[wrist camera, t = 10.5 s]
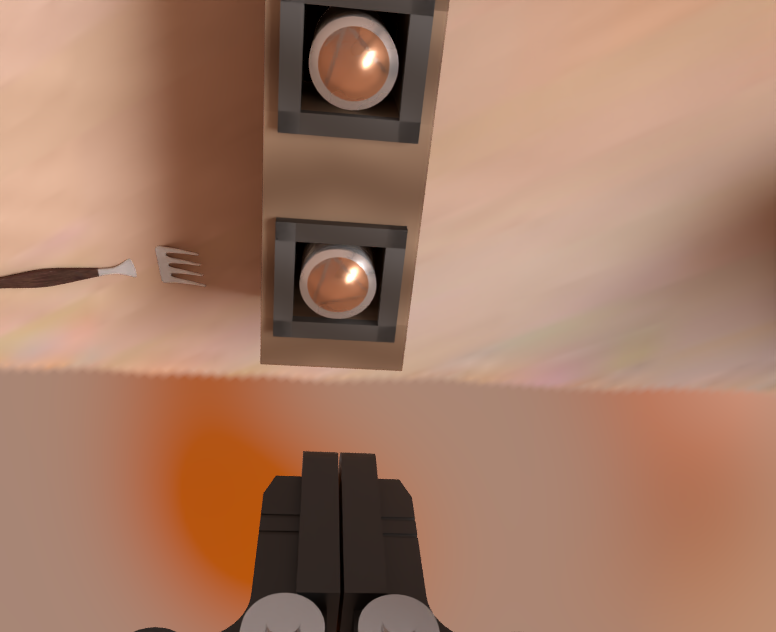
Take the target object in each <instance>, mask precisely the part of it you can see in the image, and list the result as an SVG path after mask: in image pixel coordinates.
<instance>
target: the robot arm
mask: <svg viewBox="0 0 776 632" xmlns="http://www.w3.org/2000/svg"><path fill="white" fill-rule="evenodd" d="M135 632H175V631H172V630H170V629H166V628H158V627H153V628H145V629H141V630H138V631H135ZM222 632H452V631H451V630H449V629H448V628H447V627H445V626H444V625H443V624H442V623H440V622H439V620H438V619H437V618H436V617H435V616H434V614H433V613H432V611H431V609H430V607H429V605H428V602H427V597H426V591H425V585H424V578H423V570H422V564H421V557H420V550H419V544H418V538H417V530H416V523H415V517H414V510H413V503H412V497H411V496H410V494H409V493H408V491H407V490H406V489H405V487H404V486H403V484H402V483H401V481H400V480H395V479H378V477H377V467H376V456H375V454H366V453H340V459H339V469H338V453H335V452H308V451H306V452H305V451H303V465H302V477H300V476H276V477H275V478H274V479H273V481H272V482H271V484H270V485H269V486H268V488H267V489H266V491H265V492H264V494H263V503H262V510H261V520H260V527H259V536H258V544H257V552H256V560H255V568H254V577H253V585H252V593H251V599H250V602H249V605H248V607H247V609H246V611H245V612H244V614H243V615H242V616H241V617H240V618H239V620H237V621H236V622H235V623H234V624H233V625H232V626H230V627H229V628H227V629H226V630H224V631H222Z"/></svg>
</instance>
